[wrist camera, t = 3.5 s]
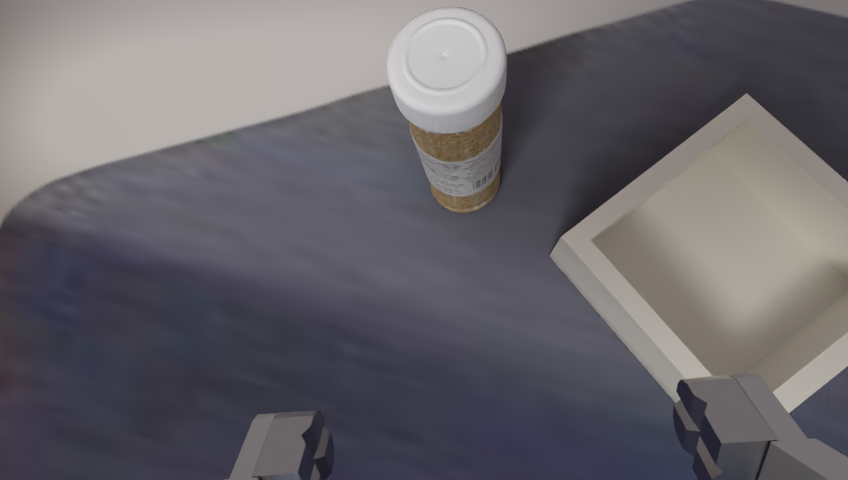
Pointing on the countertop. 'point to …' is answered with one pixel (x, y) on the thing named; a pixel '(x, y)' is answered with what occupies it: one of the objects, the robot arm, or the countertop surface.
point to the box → (724, 259)
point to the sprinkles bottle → (452, 101)
